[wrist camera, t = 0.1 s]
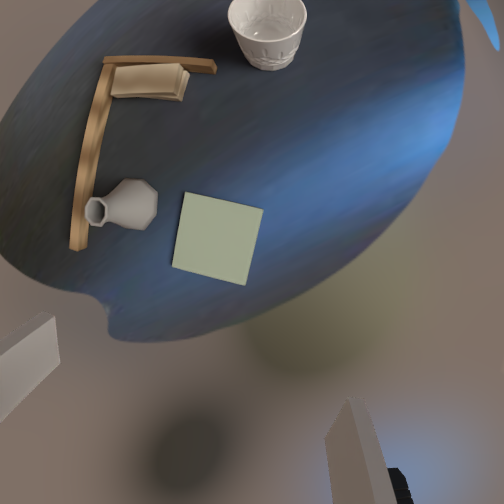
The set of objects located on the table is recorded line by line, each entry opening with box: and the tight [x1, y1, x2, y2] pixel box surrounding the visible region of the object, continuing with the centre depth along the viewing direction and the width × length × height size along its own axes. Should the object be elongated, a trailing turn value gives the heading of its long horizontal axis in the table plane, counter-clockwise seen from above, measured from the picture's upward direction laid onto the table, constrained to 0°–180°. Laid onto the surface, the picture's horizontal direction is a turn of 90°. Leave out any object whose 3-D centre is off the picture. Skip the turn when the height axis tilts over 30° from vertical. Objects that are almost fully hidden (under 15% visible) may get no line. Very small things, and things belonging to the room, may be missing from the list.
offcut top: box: [111, 63, 184, 98], centre depth 32 cm, size 4×9×2 cm, turn 83°
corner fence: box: [70, 56, 217, 251], centre depth 35 cm, size 28×16×3 cm, turn 167°
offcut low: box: [145, 71, 190, 102], centre depth 34 cm, size 4×9×2 cm, turn 76°
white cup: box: [228, 0, 307, 71], centre depth 27 cm, size 8×8×10 cm
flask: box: [85, 178, 158, 230], centre depth 33 cm, size 7×7×10 cm
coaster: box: [172, 192, 264, 286], centre depth 38 cm, size 10×10×1 cm
